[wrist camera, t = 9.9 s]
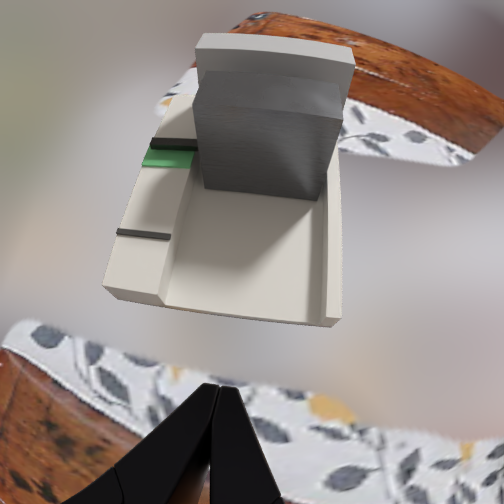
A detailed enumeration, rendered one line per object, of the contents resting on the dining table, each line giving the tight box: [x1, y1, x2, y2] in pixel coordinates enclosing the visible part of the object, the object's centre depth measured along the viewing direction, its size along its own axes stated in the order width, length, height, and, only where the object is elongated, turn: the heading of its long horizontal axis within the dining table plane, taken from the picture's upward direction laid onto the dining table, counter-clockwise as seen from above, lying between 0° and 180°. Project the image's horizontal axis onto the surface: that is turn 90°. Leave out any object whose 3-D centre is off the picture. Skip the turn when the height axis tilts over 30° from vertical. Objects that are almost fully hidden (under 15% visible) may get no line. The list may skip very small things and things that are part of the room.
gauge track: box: [102, 33, 356, 327], centre depth 21 cm, size 20×16×10 cm
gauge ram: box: [150, 71, 343, 201], centre depth 22 cm, size 4×14×9 cm, turn 83°
